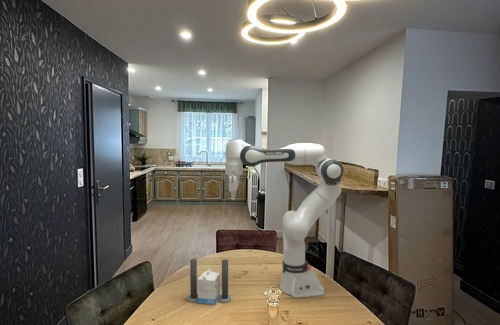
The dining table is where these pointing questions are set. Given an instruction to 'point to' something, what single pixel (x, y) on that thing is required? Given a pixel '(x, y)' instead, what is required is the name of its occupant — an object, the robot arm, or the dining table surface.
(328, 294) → the dining table surface
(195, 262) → the post
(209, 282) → the ink box
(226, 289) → the post
